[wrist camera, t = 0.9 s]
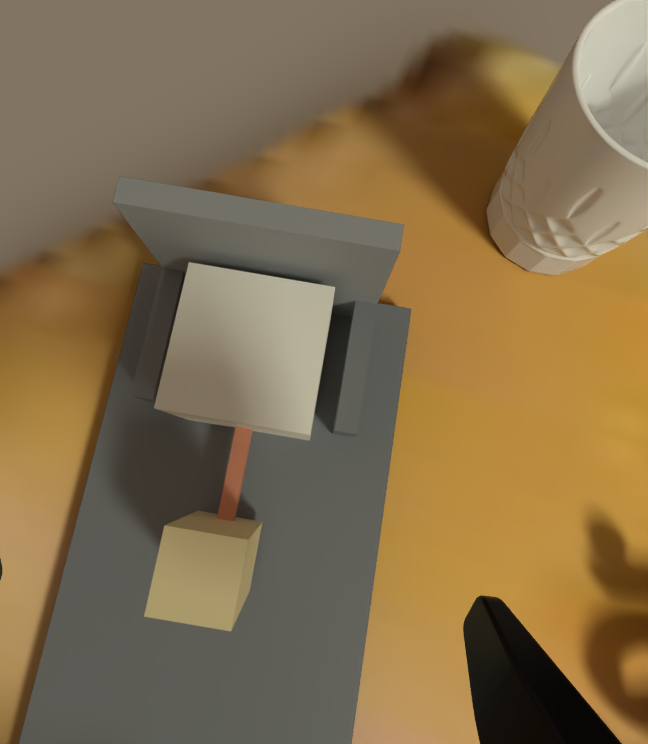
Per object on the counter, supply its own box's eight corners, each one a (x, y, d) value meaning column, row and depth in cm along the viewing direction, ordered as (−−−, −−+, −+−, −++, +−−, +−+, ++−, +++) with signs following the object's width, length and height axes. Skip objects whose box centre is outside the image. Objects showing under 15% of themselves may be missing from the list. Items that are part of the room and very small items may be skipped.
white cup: (592, 306, 26) (768, 210, 16) (457, 256, 26) (547, 131, 16) (626, 186, 27) (806, 30, 17) (498, 140, 27) (604, -39, 18)
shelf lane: (335, 829, 21) (355, 1117, 11) (22, 775, 21) (-202, 1021, 12) (406, 315, 25) (461, 234, 16) (151, 272, 25) (62, 166, 16)
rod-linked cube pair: (283, 593, 21) (274, 638, 16) (153, 571, 21) (100, 608, 16) (330, 323, 24) (336, 282, 18) (213, 303, 24) (185, 257, 18)
